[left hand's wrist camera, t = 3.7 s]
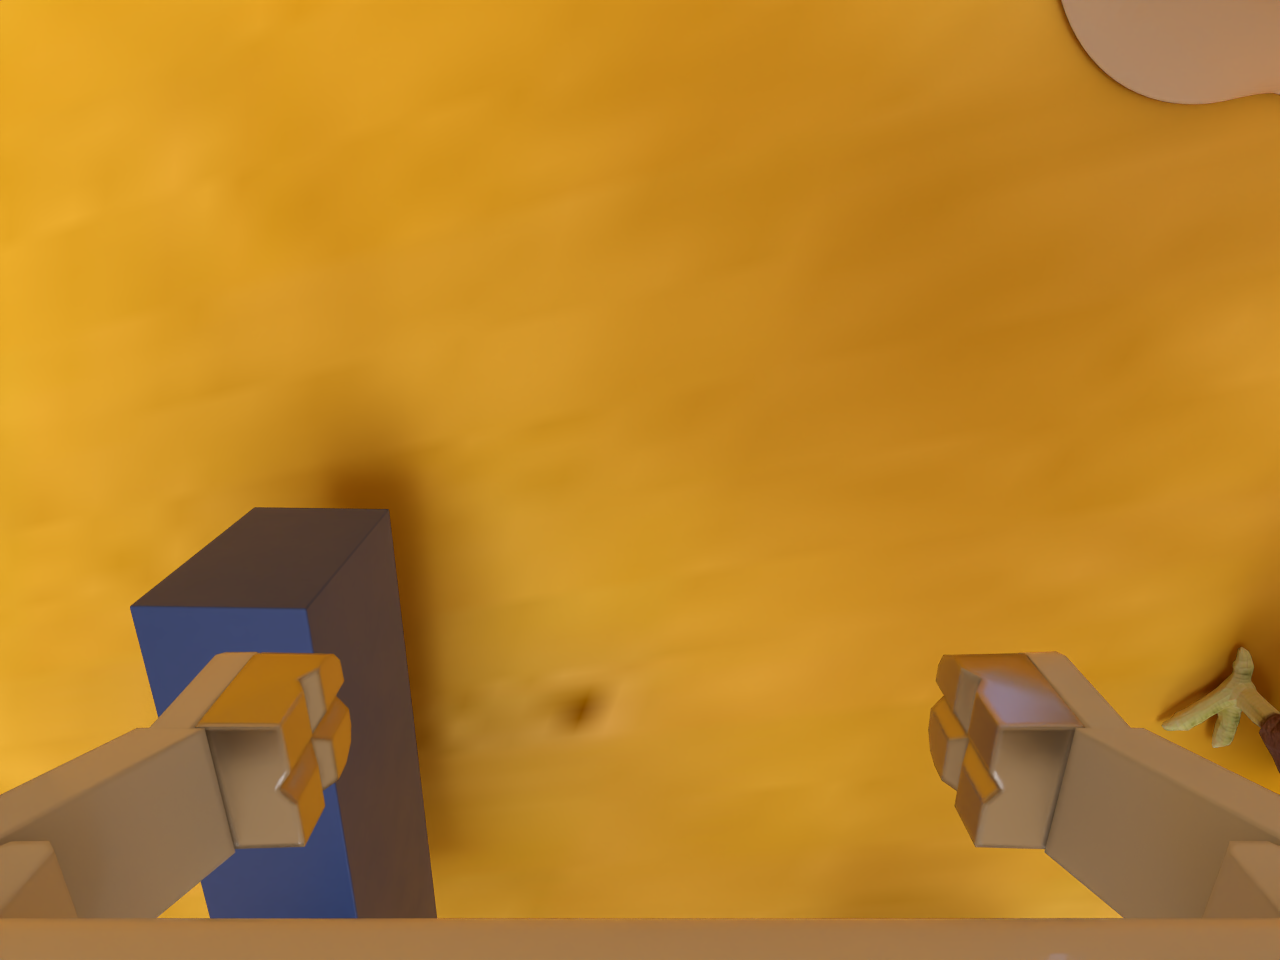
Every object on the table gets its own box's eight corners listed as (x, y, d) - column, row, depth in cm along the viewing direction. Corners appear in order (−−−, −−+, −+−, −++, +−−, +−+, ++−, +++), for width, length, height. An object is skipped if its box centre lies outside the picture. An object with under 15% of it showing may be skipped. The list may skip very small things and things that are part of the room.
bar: (254, 506, 34) (128, 606, 26) (389, 508, 34) (305, 609, 26) (336, 953, 43) (263, 1128, 35) (442, 956, 43) (393, 1131, 35)
